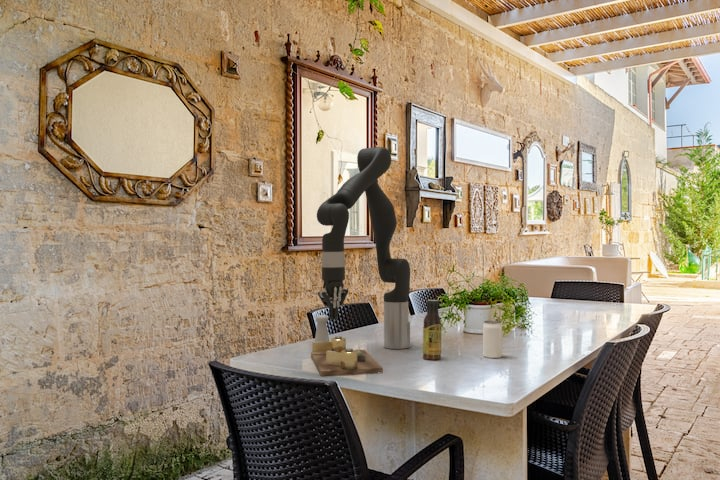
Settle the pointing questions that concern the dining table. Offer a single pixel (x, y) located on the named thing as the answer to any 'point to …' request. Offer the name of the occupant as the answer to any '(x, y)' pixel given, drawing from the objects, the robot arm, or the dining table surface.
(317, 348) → the dial
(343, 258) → the robot arm
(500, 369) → the dining table surface
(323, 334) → the salt shaker
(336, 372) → the levelling plate
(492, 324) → the can
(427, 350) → the sauce bottle
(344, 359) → the dial
